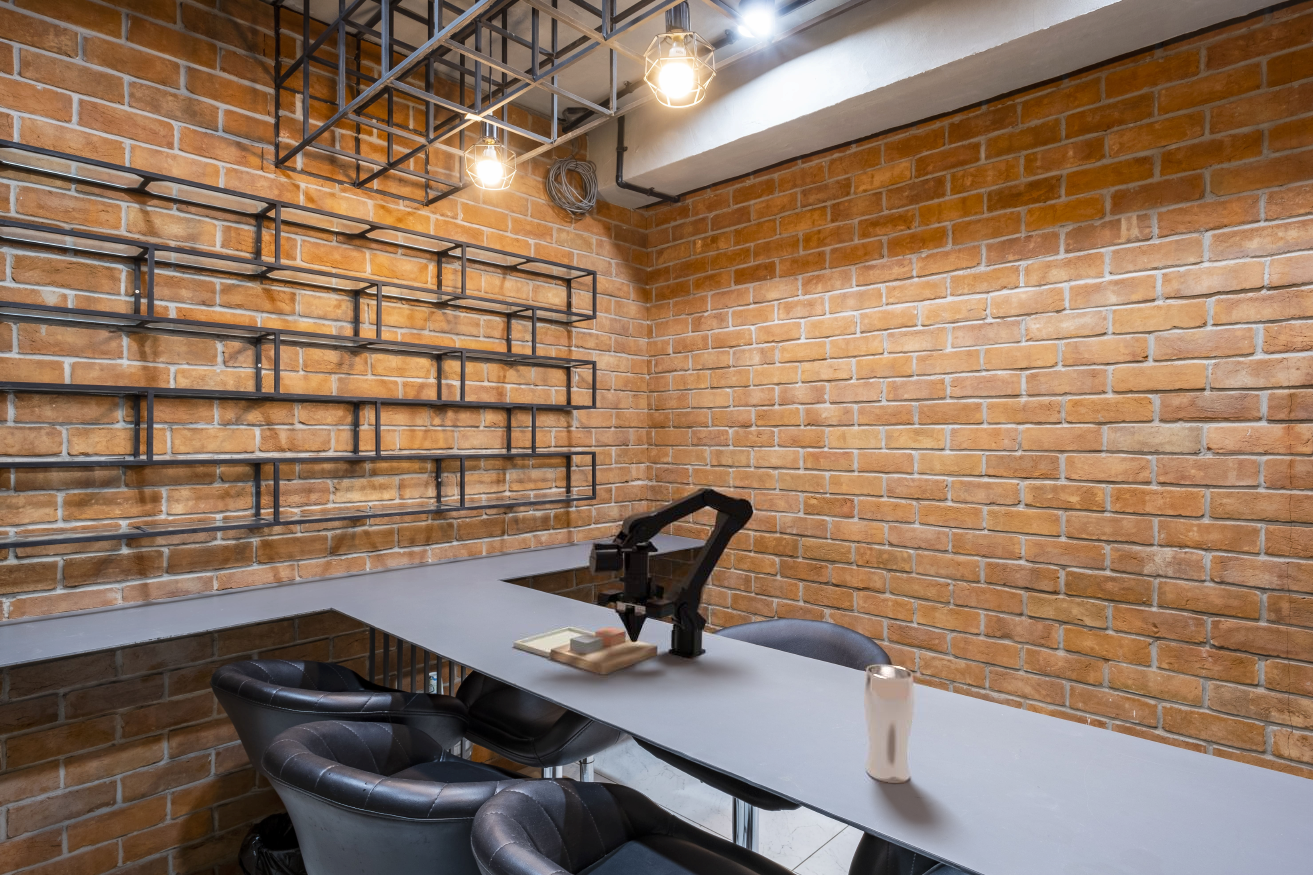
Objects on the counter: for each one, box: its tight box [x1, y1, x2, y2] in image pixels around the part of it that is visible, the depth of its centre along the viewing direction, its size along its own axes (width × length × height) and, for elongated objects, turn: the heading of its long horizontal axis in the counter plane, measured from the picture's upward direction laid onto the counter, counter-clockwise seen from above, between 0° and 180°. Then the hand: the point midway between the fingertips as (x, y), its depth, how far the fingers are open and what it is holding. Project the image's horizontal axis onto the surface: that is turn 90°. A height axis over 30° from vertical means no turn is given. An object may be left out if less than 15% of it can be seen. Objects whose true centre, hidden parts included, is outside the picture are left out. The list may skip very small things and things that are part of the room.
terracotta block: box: [594, 627, 627, 646], centre depth 155 cm, size 5×5×2 cm
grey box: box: [570, 634, 602, 655], centre depth 148 cm, size 5×5×2 cm
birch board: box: [550, 637, 658, 676], centre depth 150 cm, size 16×18×2 cm
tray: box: [513, 626, 595, 659], centre depth 159 cm, size 12×18×1 cm, turn 142°
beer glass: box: [863, 664, 915, 784], centre depth 99 cm, size 7×7×15 cm
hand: (634, 641), depth 150 cm, fingers closed
